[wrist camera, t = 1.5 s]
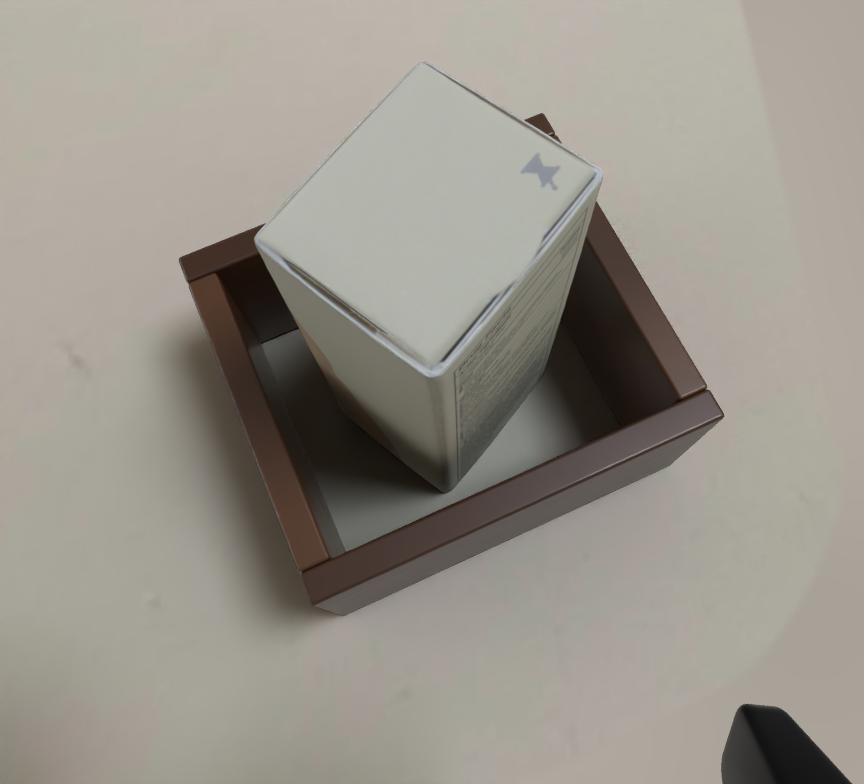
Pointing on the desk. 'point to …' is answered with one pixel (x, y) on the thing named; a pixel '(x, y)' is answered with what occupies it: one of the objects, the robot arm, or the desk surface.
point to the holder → (495, 506)
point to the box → (433, 267)
